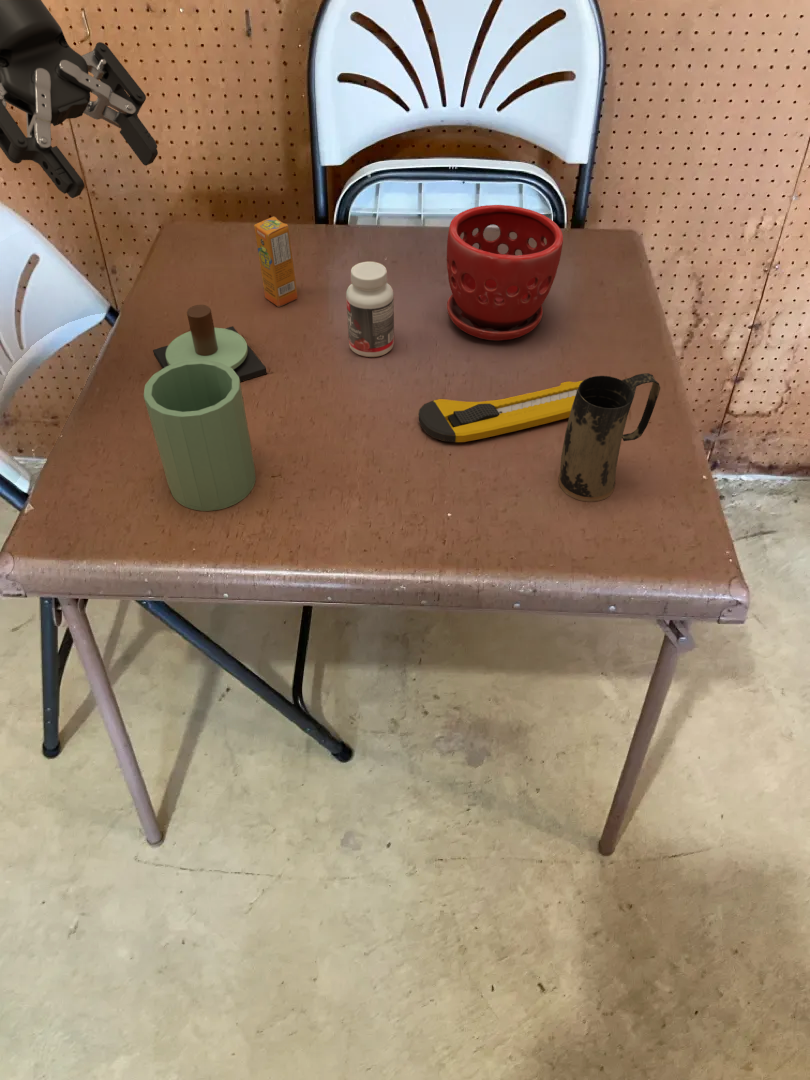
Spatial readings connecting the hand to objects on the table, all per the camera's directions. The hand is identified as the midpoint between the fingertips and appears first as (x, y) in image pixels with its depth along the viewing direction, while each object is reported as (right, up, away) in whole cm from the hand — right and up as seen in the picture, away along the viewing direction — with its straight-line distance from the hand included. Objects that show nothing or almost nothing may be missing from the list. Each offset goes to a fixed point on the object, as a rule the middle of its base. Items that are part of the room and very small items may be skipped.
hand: (117, 175), depth 75 cm
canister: (+7, -27, +8) cm, 29 cm away
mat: (+3, -12, +22) cm, 25 cm away
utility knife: (+38, -19, +16) cm, 46 cm away
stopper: (+3, -11, +21) cm, 24 cm away
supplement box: (+10, -2, +32) cm, 34 cm away
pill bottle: (+22, -10, +25) cm, 34 cm away
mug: (+45, -27, +9) cm, 53 cm away
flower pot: (+37, -6, +28) cm, 47 cm away
